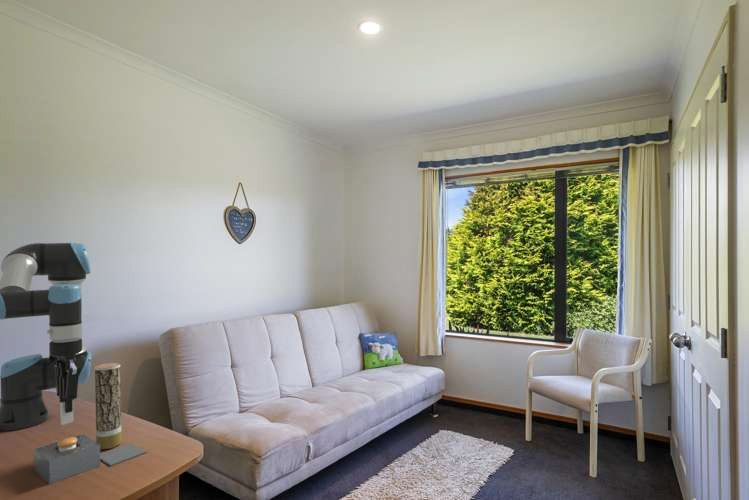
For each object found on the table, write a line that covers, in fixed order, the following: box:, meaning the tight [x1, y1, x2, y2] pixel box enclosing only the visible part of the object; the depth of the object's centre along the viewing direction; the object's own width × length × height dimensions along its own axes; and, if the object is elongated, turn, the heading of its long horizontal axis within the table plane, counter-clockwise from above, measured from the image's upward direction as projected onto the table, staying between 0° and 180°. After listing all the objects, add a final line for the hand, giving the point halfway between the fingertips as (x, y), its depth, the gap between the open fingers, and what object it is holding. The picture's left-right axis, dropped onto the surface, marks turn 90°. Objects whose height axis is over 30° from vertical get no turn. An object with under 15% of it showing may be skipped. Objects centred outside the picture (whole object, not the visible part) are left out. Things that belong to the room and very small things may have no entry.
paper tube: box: [94, 362, 122, 450], centre depth 135 cm, size 7×7×25 cm
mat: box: [100, 442, 148, 467], centre depth 129 cm, size 10×10×1 cm
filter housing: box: [33, 433, 101, 485], centre depth 121 cm, size 12×12×6 cm
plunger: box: [57, 436, 77, 452], centre depth 121 cm, size 5×5×7 cm
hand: (67, 422), depth 122 cm, fingers closed
